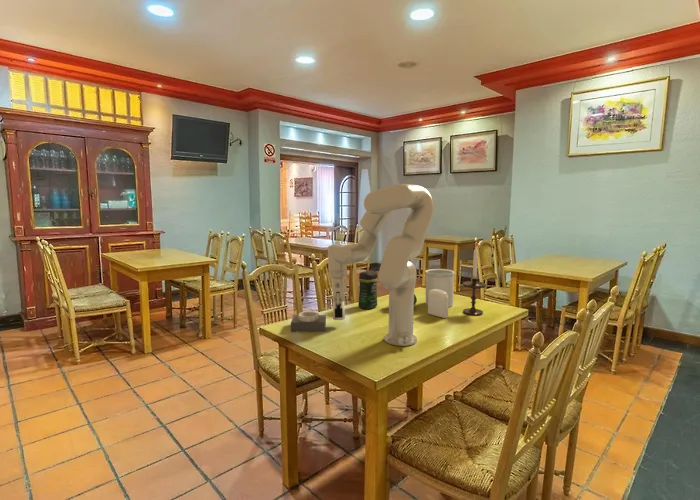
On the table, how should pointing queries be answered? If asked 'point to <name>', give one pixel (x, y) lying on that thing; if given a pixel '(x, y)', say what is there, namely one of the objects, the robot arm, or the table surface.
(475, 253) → the candlestick
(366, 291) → the coffee jar
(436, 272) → the utensil holder
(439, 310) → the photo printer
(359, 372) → the table surface
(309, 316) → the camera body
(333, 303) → the white cylinder
